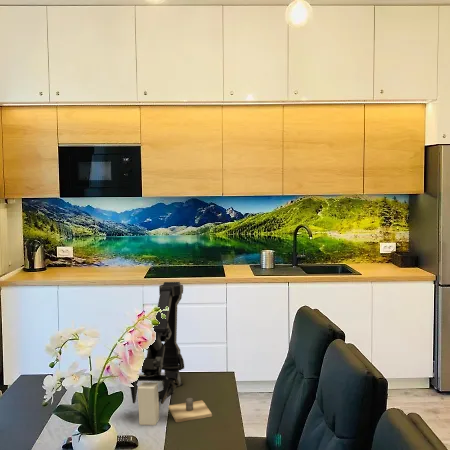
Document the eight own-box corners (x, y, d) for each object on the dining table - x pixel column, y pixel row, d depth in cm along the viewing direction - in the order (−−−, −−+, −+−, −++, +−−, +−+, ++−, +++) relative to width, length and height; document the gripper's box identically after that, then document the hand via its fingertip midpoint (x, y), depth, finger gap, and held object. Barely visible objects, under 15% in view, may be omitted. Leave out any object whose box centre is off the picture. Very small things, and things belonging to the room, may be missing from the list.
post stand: (168, 408, 186) (168, 395, 186) (202, 402, 190) (201, 390, 189) (176, 422, 175) (175, 408, 174) (211, 416, 178) (211, 403, 178)
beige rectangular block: (144, 417, 179) (142, 382, 178) (159, 418, 178) (157, 382, 178) (139, 424, 174) (137, 388, 173) (155, 425, 173) (153, 388, 172)
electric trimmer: (176, 394, 199) (176, 386, 199) (147, 409, 187) (146, 400, 187) (168, 392, 202) (168, 384, 201) (139, 406, 189) (138, 397, 189)
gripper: (122, 347, 180) (112, 392, 170) (177, 347, 177) (171, 393, 167) (130, 362, 188) (121, 406, 178) (183, 363, 186) (177, 407, 175)
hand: (147, 403), depth 174 cm, fingers open, 9 cm apart
